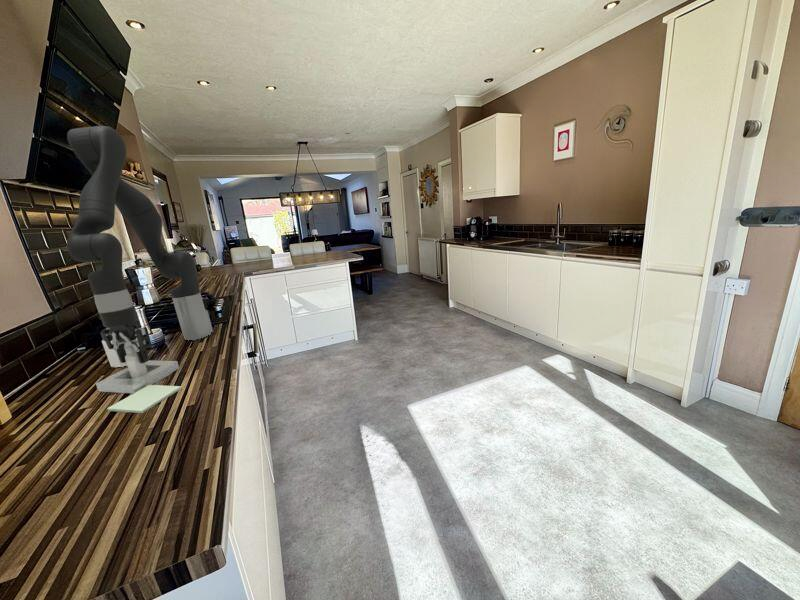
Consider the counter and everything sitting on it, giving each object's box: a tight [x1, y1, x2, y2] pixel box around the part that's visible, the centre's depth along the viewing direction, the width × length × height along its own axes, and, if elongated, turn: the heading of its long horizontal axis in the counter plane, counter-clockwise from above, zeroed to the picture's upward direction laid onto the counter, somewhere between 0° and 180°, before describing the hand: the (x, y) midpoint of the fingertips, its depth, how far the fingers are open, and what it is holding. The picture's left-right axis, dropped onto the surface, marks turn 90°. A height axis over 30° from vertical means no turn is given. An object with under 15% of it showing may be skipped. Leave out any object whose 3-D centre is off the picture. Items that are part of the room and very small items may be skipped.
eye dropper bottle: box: [125, 343, 149, 379], centre depth 93 cm, size 4×6×12 cm
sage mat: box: [106, 384, 182, 414], centre depth 83 cm, size 11×11×1 cm
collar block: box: [95, 359, 180, 394], centre depth 94 cm, size 14×14×2 cm
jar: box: [100, 331, 139, 368], centre depth 107 cm, size 9×8×12 cm
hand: (135, 361), depth 93 cm, fingers open, 6 cm apart
